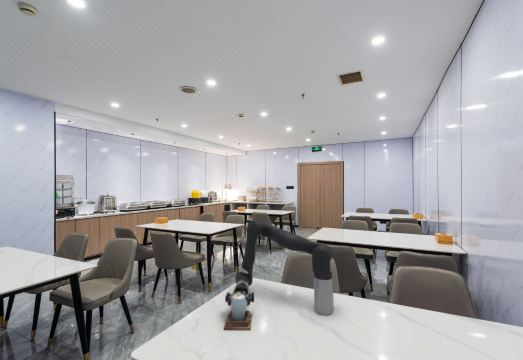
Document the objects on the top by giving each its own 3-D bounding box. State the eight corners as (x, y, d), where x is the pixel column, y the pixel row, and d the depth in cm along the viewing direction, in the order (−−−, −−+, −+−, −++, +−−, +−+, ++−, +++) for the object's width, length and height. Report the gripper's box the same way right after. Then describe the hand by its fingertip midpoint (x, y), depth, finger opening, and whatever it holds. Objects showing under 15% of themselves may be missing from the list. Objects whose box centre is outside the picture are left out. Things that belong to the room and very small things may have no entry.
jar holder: (227, 316, 121) (227, 310, 121) (252, 316, 121) (252, 310, 121) (223, 330, 109) (223, 323, 109) (250, 330, 109) (250, 323, 109)
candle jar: (240, 315, 119) (240, 288, 120) (248, 321, 114) (248, 292, 115) (229, 320, 115) (229, 292, 116) (236, 325, 110) (236, 296, 111)
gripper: (228, 282, 132) (223, 295, 116) (254, 282, 132) (253, 295, 115) (228, 297, 131) (223, 312, 115) (254, 297, 131) (253, 312, 115)
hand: (238, 304), depth 115 cm, fingers open, 8 cm apart
